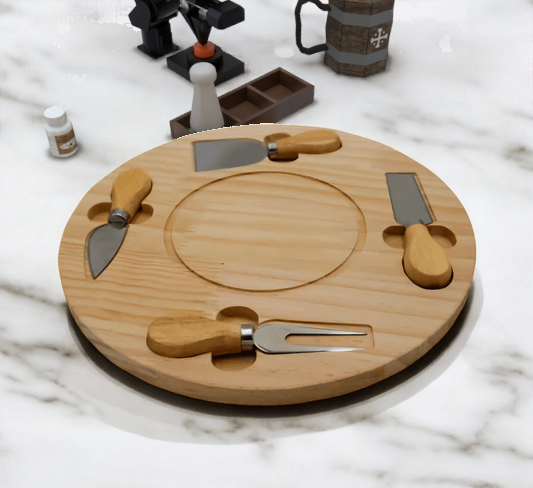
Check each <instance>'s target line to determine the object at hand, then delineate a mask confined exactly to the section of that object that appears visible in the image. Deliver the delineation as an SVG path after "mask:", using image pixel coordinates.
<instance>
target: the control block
mask: <svg viewBox="0 0 533 488" xmlns="http://www.w3.org/2000/svg"><path fill="white" fill-rule="evenodd" d="M193 46H194V44H193V45H191V46H189V47H187V48H184V49H183V50H180V51H177V52H176V53H172V54H171V55H168V56H167V57H165V58H166V59H165V60H166V68H168V70H171V71H172V72H174V73H175V74H177V75H179V76H180V77H181V78H183V79H185V80H186V81H188V82H190V83H191V84H192V85H194V83H193V82H192V81H191V79H190V69H191V67H192V66H193V65H194V64H196V63H200V62H207V63H210V64H212V65H213V66H214V67H215V70H216V73H217V78H216V80H215V81H214V86H215V87H217V86H219V85H222V84H224V83H227V82H228V81H230V80H232V79H234V78H236V77H239V76H240V75H243V74H244V73H245V62H244V61H242V60H241V59H239V58H237V57H236V56H233V55H232V54H230V53H228V52H227V51H225V50H223V48H222V47H221V46H219V45H217V44H216V43H214V48H215V54H214V55H213V56H211V57H206V58H201V57H196V56H195V55H194V47H193Z"/></svg>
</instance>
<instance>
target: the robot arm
mask: <svg viewBox="0 0 533 488" xmlns="http://www.w3.org/2000/svg"><path fill="white" fill-rule="evenodd" d="M133 1H134V3H135V6H134V7H133V8H132V9H131V10H130V12H129V13H128V14H127V17H128V19H129V22H130V24H131V26H132V27H135V28H137V29H139V30H140V32H141V39H142V43H141V44H139V45H137V46H136V49H137V51H140V52H141V53H143V54H145V55H146V56H148V57H150V58H151V59H152V60H158V59H160V58H164V57H165V56H167V55H168V56H169V55H170V54H173V53H174V52H178V51H179V50H180V46H179V45H177V44H176V43H175V42H174V38H173V32H172V25H171V22H170V20H172V19H174V18H177V17H178V15H179V13H180V15H181V16H182V18H183V19H184V21H185V22H186V24H187V26H188V27H189V28H190V30H191V32H192V33H193V35H194V37H195V38H196V40H197V42H199V43H200V44H201V45H202V46H204V45H206V44H207V42H208V41H209V39H210V35H211V33H212V29H213V28H214V29H215V30H216V29H217V30H218V31H224V30H226V29H229V28H231V27H234V26H236V25H238V24H240V23H243V22H245V21H246V9H245V8H244V7H243V6H242V5H241V4H239V3H236V2H235V1H233V0H223V1H222V0H133Z"/></svg>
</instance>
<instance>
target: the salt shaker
mask: <svg viewBox="0 0 533 488" xmlns="http://www.w3.org/2000/svg"><path fill="white" fill-rule="evenodd" d="M216 78H217V73H216V70H215V67H214V66H213V65H212V64H210V63H207V62H200V63H196V64H194V65H193V66H192V67H191V69H190V79H191V81H192V82H193V83H194V84H193V83H192V84H193V92H192V93H193V94H192V103H191V109H190V111H191V117H190V126H191V129H192V131H193V132H194V133H197V132H202V131H207V130H212V129H218V128H223V126H224V120H223V116H222V112H221V109H220V105H219V101H218V97H219V96H218V93H217V90H216V86H214V81H215V80H216Z"/></svg>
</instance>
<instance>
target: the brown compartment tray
mask: <svg viewBox="0 0 533 488" xmlns="http://www.w3.org/2000/svg"><path fill="white" fill-rule="evenodd" d="M315 87H316V86H315V85H314V84H312V83H310V82H308V81H306V80H305V79H303V78H301V77H299V76H297V75H296V74H294V73H292V72H290V71H289V70H287V69H285V68H283V67H281V66H278V67H275V68H273V69H272V70H270V71H268V72H266V73H264V74H262V75H260V76H258V77H256V78H254V79H252V80H250V81H248V82H246V83H244V84H242V85H240V86H237V87H235V88H233V89H231V90H230V91H227V92H226V93H225V92H224V93H223V94H222V95H219V96H217V97H218V101H219V105H220V109H221V112H222V116H223V120H224V126H223V127H230V126H231V127H232V126H240V125H249V124H260V123H275V124H277V123H278V122H280V121H282V120H284V119H286V118H288V117H289V116H291V115H293V114H295V113H296V112H299V111H300V110H302V109H304V108H306V107H307V106H309V105H311V104H313V103H314V102H315ZM190 117H191V110H188V111H187V112H184V113H183V114H180V115H179V116H176V117H174V118H172V119H170V120H169V128H170V138H171V139H173V140H174V139H177V138H179V137H182V136H185V135H189V134H193V133H194V132H193V131H192V129H191V126H190Z"/></svg>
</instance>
